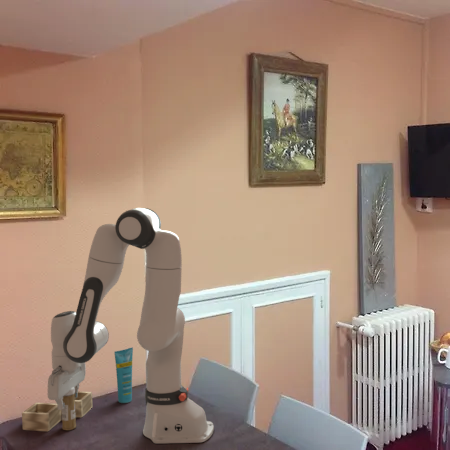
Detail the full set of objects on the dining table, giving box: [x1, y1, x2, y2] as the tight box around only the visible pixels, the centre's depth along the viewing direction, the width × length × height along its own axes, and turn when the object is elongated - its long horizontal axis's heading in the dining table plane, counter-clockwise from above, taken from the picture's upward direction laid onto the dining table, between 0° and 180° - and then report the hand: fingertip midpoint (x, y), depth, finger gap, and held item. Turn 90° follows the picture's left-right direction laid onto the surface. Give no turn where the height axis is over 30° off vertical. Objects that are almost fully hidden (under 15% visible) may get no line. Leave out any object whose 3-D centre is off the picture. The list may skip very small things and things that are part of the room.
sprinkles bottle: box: [61, 387, 77, 431], centre depth 192 cm, size 5×5×14 cm
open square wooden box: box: [21, 402, 62, 432], centre depth 195 cm, size 9×9×6 cm
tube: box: [113, 347, 134, 404], centre depth 214 cm, size 7×5×19 cm, turn 134°
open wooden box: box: [61, 390, 93, 419], centre depth 205 cm, size 9×9×6 cm
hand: (67, 403), depth 191 cm, fingers open, 8 cm apart
